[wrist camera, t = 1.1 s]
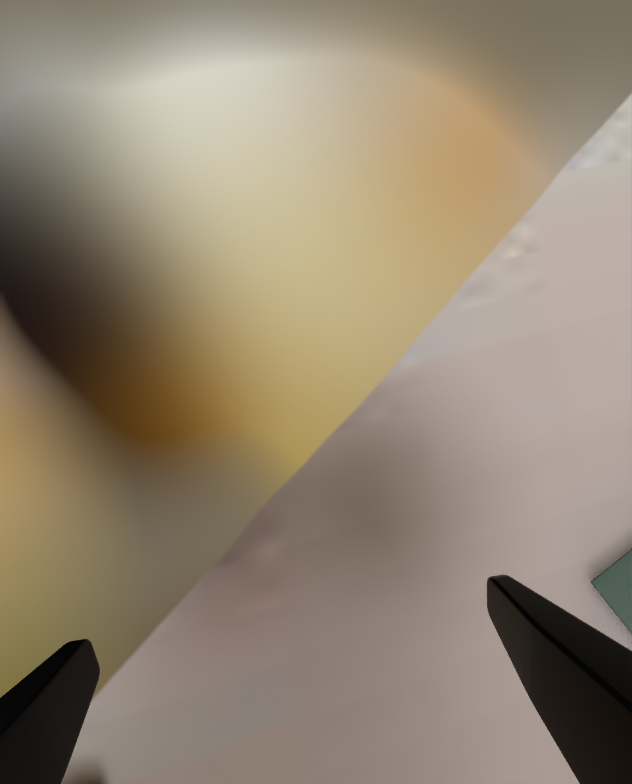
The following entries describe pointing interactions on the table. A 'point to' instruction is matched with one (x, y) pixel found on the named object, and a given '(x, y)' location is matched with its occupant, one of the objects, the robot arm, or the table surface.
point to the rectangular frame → (618, 588)
